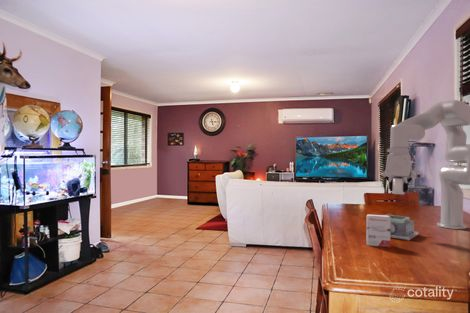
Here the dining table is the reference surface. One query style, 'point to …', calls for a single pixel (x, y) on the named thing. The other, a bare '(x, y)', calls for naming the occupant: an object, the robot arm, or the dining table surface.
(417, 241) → the dining table surface
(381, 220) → the ink box
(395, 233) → the motor
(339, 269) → the dining table surface
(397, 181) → the white cylinder
